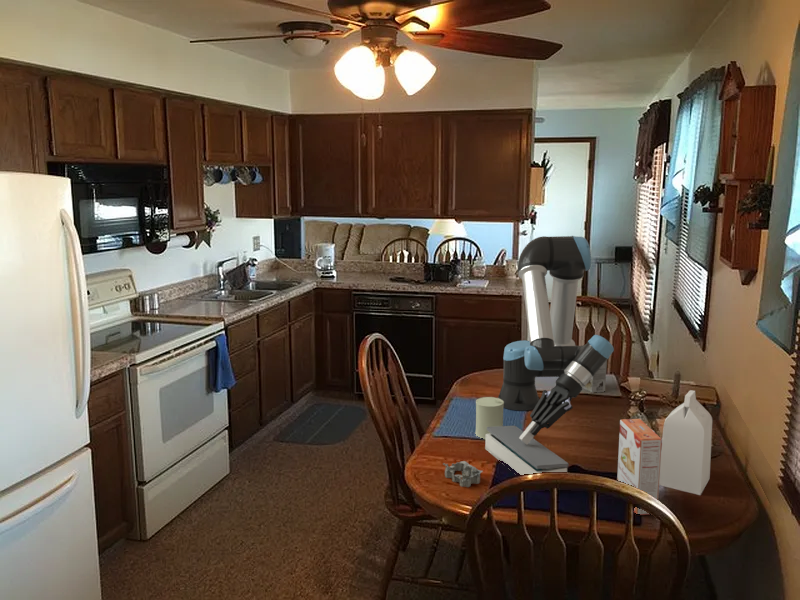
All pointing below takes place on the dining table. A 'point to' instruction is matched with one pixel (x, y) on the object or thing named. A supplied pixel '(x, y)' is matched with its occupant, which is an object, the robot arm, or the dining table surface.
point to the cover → (527, 448)
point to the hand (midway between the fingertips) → (523, 441)
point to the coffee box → (597, 380)
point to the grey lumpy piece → (463, 473)
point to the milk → (686, 447)
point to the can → (488, 414)
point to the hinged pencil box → (513, 457)
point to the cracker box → (639, 457)
